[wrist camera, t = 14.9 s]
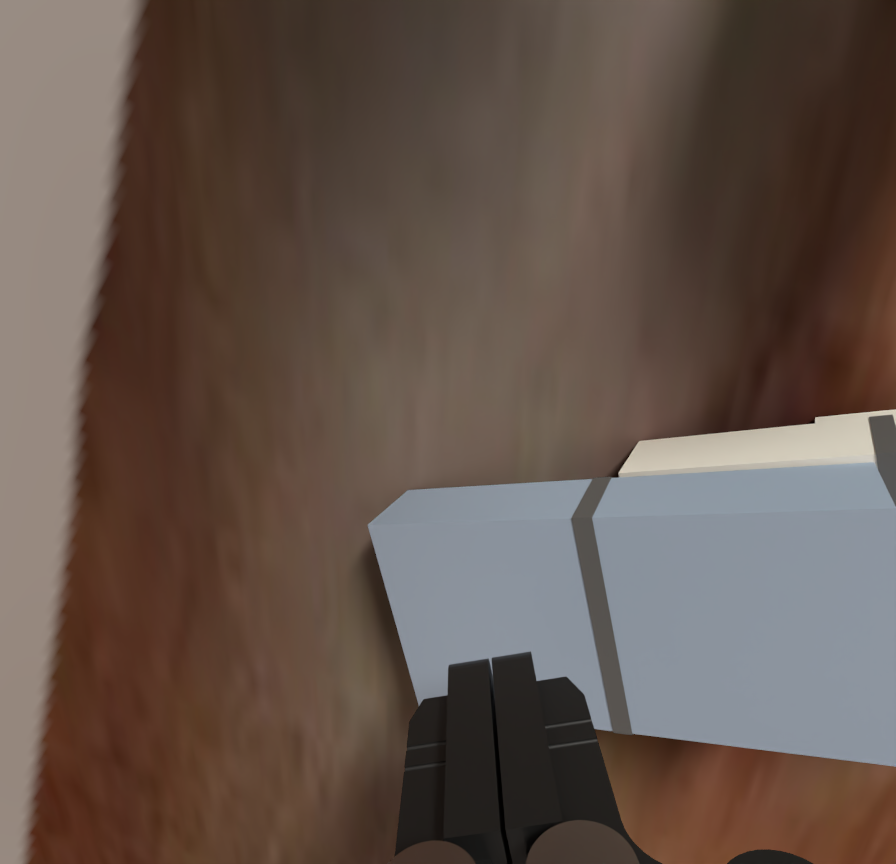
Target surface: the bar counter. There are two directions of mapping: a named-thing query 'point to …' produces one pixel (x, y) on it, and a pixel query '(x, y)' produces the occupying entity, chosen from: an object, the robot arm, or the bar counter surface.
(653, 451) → the domino
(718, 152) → the bar counter surface
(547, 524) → the domino
